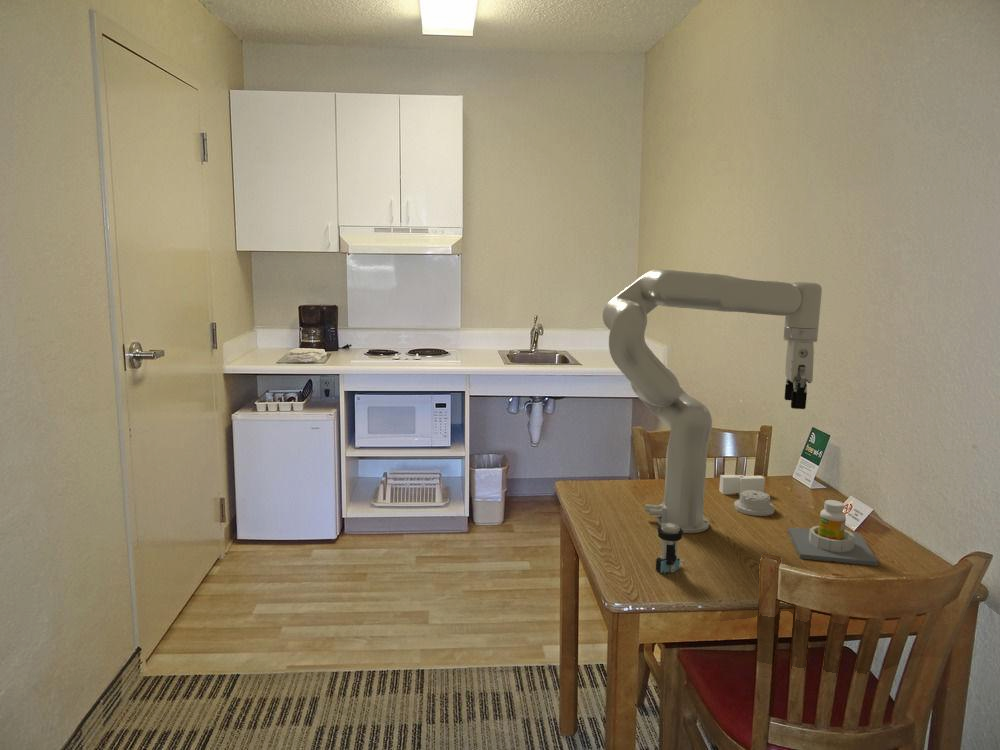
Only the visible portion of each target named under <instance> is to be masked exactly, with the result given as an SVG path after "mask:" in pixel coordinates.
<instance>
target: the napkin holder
mask: <svg viewBox="0 0 1000 750" xmlns="http://www.w3.org/2000/svg"><path fill="white" fill-rule="evenodd" d="M765 485H766V477H764V476H763V475H743V474H738V475H737V474H720V475H719V488H718V489H719V490H718V492H719V491H720V492H721V493H722V495H733V494H732V493H739V494H740V493H741V492H742V491H743V492H744V491H746V490H748V491H749V490H755V491H761V492H763V493H765ZM720 492H719V493H720ZM721 493H720V494H721ZM739 494H738V495H739Z"/></svg>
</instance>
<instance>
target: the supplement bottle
mask: <svg viewBox="0 0 1000 750" xmlns="http://www.w3.org/2000/svg"><path fill="white" fill-rule="evenodd" d="M823 505H824V506H823V507H824V508H823V509H822V510H821V511H820V512H819V513H820V514H819V519H818V520H819V523H818V526H819V530H818V535H819V536H821V537H824V538H828V539H833V540H844V530H846V529H845V528H846V521H847V520H846V519H847V516H846V513H845V512H843V511H844V508H845V505H844V503H843V502H842V501H839V500H835V499H834V500H833V499H827V500H825V501H824V504H823Z"/></svg>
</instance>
